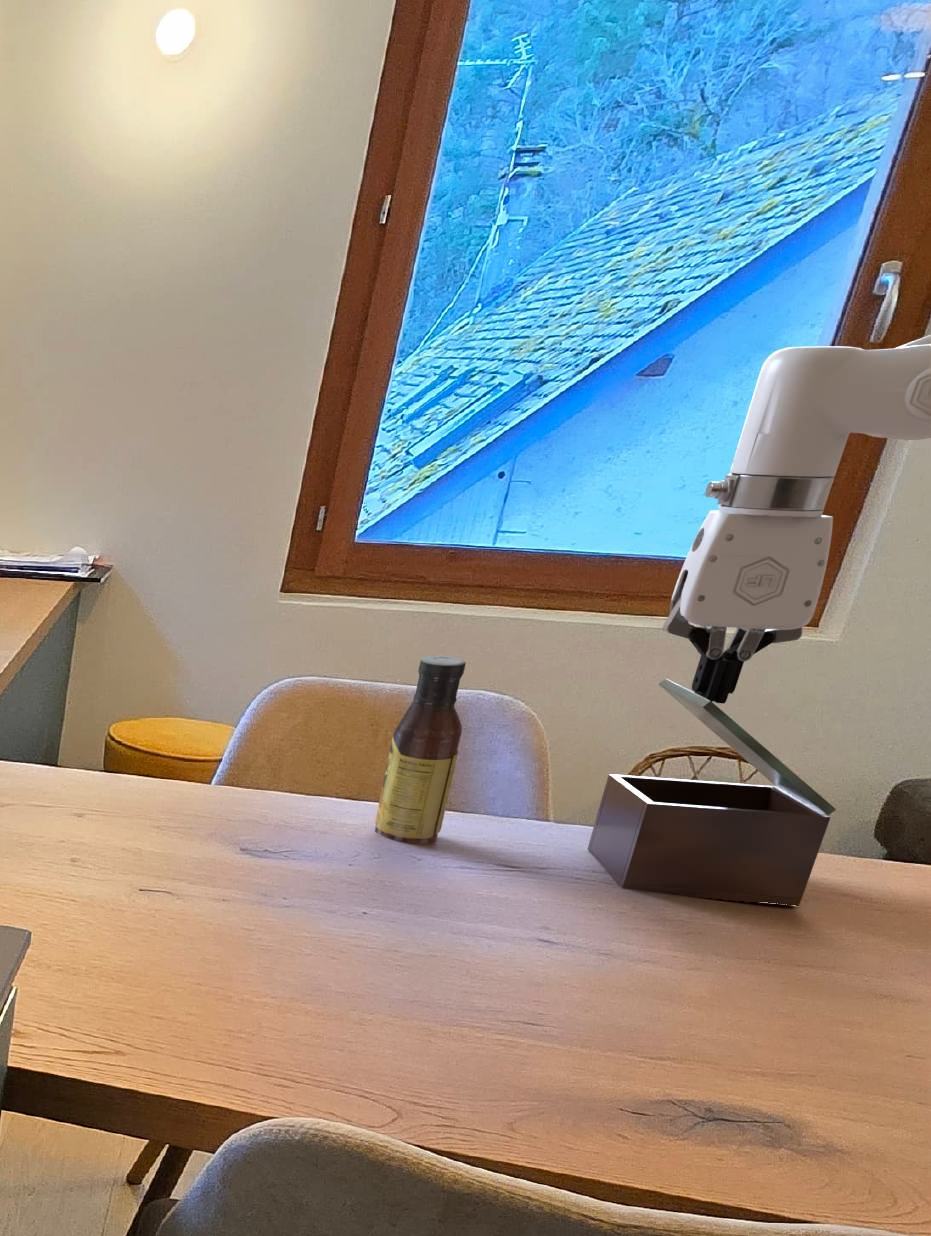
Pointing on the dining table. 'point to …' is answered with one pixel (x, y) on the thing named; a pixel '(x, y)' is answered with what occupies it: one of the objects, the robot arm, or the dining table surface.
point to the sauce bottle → (423, 756)
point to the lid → (746, 746)
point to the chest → (707, 839)
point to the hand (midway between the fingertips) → (709, 699)
